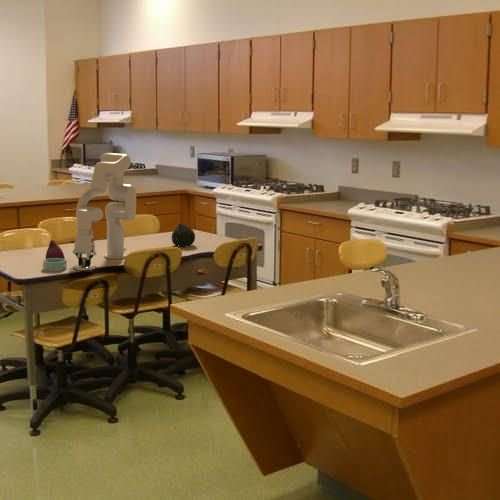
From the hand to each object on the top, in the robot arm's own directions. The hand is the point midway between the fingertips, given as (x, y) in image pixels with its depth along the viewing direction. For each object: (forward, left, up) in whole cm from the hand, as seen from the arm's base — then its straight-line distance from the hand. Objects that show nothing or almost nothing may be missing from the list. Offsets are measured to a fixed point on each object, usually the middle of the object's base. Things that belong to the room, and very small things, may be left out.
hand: (84, 265), depth 389 cm
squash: (-82, +24, -2) cm, 85 cm away
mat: (0, 0, -2) cm, 2 cm away
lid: (0, 0, -1) cm, 1 cm away
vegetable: (-7, -22, -2) cm, 23 cm away
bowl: (+8, -13, -2) cm, 15 cm away
